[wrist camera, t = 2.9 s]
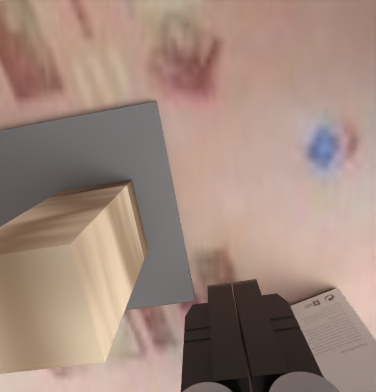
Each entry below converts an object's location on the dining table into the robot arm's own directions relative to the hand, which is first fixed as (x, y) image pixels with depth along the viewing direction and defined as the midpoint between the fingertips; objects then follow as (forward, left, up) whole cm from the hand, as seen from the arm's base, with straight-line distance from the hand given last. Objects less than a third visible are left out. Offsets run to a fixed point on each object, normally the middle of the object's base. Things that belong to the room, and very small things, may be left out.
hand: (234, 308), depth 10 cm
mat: (+13, 0, -12) cm, 17 cm away
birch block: (+8, 0, -11) cm, 14 cm away
